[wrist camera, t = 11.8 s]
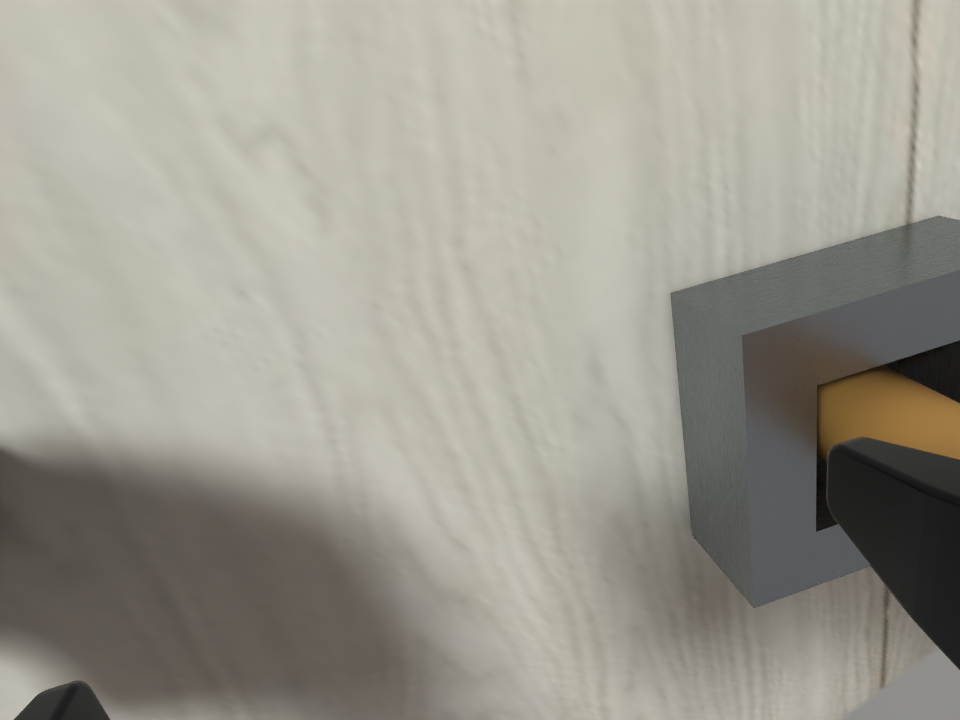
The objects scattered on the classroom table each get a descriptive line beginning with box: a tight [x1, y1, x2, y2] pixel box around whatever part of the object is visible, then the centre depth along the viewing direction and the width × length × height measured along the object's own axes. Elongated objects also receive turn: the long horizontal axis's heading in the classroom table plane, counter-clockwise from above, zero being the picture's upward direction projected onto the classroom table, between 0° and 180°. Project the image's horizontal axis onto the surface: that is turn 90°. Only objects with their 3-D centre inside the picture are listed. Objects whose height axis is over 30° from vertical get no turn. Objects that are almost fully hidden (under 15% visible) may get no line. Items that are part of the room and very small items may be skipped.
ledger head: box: [671, 216, 960, 608], centre depth 24 cm, size 18×10×4 cm, turn 102°
